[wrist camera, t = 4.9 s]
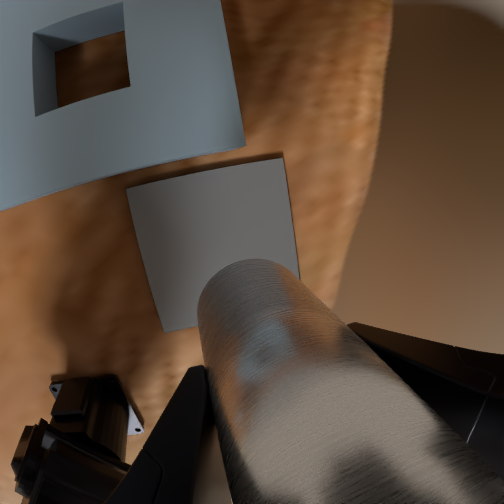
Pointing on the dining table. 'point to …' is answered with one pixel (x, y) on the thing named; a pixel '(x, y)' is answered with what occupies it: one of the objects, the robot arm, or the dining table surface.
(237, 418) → the steel pin
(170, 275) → the rubber mat
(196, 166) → the dining table surface
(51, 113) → the blue peg hole block
